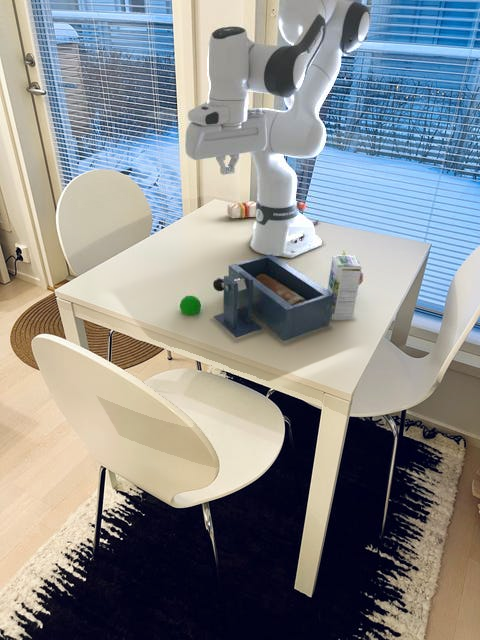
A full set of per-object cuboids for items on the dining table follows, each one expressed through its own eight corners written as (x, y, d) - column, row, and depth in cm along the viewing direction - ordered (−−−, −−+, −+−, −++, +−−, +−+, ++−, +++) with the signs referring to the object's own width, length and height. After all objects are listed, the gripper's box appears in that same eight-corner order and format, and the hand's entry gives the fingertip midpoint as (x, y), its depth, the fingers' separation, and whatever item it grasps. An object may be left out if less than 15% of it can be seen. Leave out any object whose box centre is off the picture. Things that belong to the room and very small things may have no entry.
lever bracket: (213, 320, 119) (213, 272, 112) (238, 312, 122) (239, 264, 115) (236, 341, 112) (237, 291, 105) (261, 332, 115) (264, 283, 108)
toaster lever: (212, 292, 120) (209, 279, 120) (224, 289, 122) (221, 276, 121) (236, 293, 110) (233, 279, 109) (249, 290, 111) (246, 275, 111)
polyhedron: (193, 306, 124) (192, 289, 121) (205, 315, 121) (204, 297, 118) (176, 313, 121) (175, 296, 119) (188, 322, 118) (187, 304, 116)
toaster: (269, 284, 134) (271, 254, 129) (329, 328, 117) (333, 294, 113) (228, 297, 128) (228, 265, 123) (284, 344, 111) (287, 310, 107)
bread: (287, 325, 114) (289, 303, 110) (249, 287, 128) (249, 267, 125) (311, 318, 116) (313, 297, 113) (270, 282, 130) (271, 263, 127)
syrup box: (323, 308, 125) (330, 255, 117) (347, 307, 125) (355, 254, 117) (329, 321, 120) (336, 266, 112) (353, 320, 120) (362, 265, 113)
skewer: (232, 221, 171) (232, 207, 168) (226, 215, 176) (226, 201, 173) (288, 215, 177) (289, 201, 174) (280, 209, 182) (281, 195, 179)
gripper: (258, 105, 119) (256, 164, 127) (180, 112, 110) (183, 175, 117) (274, 110, 115) (270, 170, 122) (194, 118, 105) (196, 183, 113)
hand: (227, 173), depth 120 cm, fingers closed
